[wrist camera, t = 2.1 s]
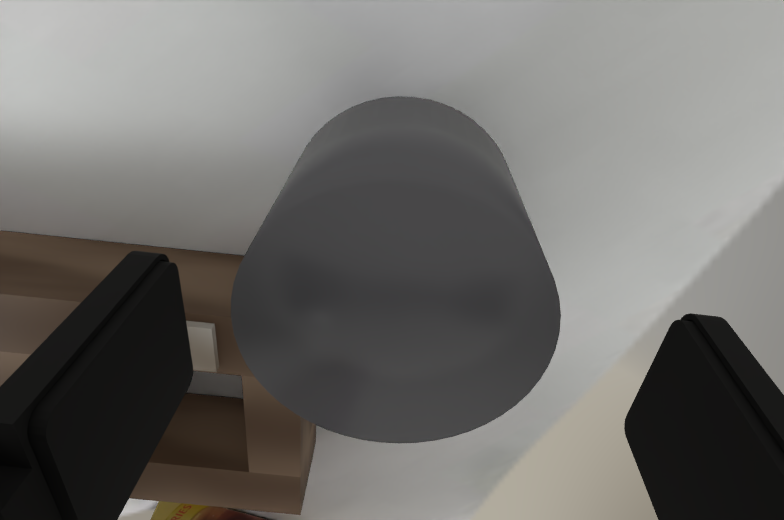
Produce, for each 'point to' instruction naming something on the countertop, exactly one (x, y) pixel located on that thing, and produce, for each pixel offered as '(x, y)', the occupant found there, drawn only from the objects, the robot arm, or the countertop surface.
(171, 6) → the countertop surface
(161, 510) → the candy box
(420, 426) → the plug
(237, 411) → the socket block
